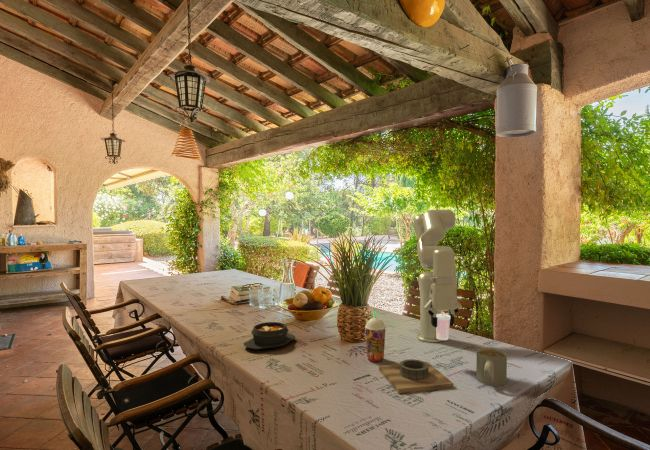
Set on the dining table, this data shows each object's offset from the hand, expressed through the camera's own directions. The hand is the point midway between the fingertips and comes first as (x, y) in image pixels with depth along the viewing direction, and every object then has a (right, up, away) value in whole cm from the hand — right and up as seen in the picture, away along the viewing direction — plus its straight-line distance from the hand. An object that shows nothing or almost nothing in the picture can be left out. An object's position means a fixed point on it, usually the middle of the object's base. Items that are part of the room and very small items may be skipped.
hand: (442, 325), depth 156 cm
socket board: (-14, -16, -12) cm, 24 cm away
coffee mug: (+12, -16, -15) cm, 25 cm away
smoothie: (-26, -16, +6) cm, 31 cm away
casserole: (-71, -15, +26) cm, 77 cm away
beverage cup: (0, -5, 0) cm, 5 cm away
